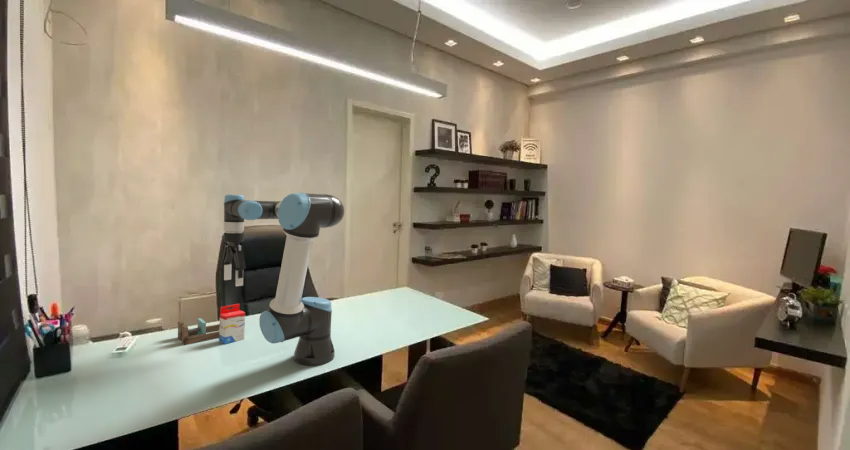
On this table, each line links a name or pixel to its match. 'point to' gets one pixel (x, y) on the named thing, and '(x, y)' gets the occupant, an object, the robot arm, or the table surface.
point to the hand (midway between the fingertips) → (233, 282)
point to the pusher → (199, 327)
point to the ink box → (231, 324)
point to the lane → (186, 340)
